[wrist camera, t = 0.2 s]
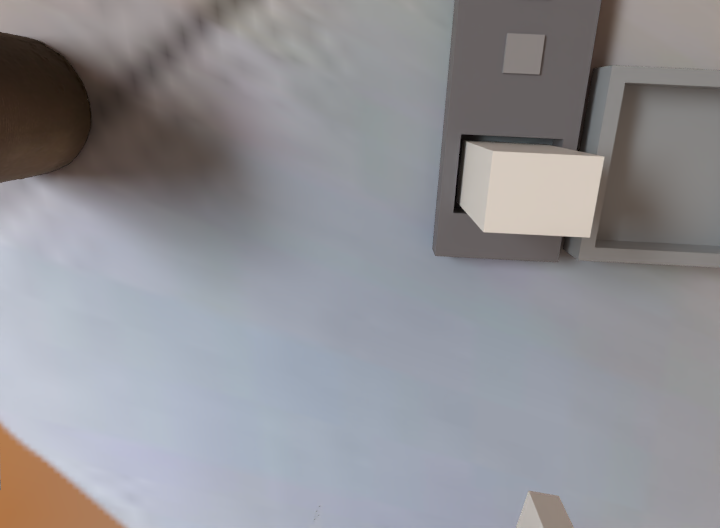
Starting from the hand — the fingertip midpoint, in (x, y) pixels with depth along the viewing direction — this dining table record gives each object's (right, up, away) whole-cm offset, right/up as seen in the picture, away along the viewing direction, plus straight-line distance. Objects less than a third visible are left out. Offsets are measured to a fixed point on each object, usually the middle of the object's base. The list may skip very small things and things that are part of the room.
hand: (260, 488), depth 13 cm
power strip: (+13, +18, +23) cm, 32 cm away
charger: (+13, +12, +25) cm, 31 cm away
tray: (+25, +13, +25) cm, 37 cm away
